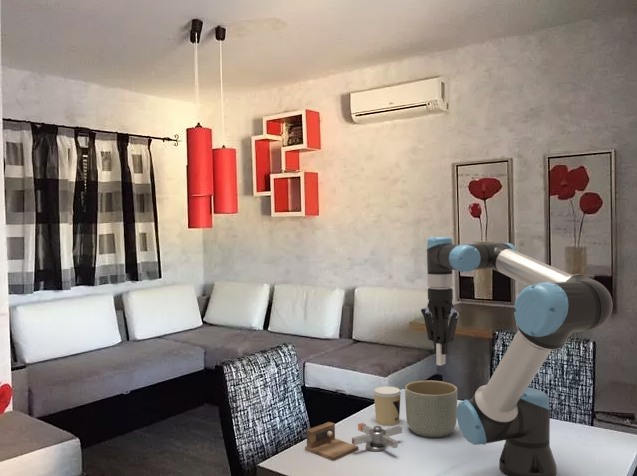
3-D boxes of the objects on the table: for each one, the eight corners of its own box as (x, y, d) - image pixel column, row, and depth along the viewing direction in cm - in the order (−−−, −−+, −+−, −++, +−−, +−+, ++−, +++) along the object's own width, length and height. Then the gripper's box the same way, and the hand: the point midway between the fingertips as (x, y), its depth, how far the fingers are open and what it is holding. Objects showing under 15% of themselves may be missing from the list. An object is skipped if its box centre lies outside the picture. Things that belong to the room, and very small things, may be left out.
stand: (398, 450, 181) (398, 427, 180) (352, 471, 166) (352, 447, 166) (351, 434, 195) (350, 413, 194) (305, 453, 180) (304, 430, 180)
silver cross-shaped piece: (383, 432, 193) (382, 413, 193) (419, 450, 178) (419, 430, 177) (336, 443, 184) (336, 424, 184) (371, 464, 168) (370, 443, 168)
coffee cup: (400, 429, 198) (399, 394, 197) (372, 428, 200) (372, 393, 199) (402, 420, 207) (401, 386, 207) (375, 418, 209) (375, 385, 208)
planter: (403, 441, 188) (402, 393, 187) (408, 422, 204) (407, 379, 204) (457, 445, 184) (457, 396, 183) (458, 426, 200) (457, 381, 200)
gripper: (465, 287, 177) (466, 365, 178) (429, 284, 186) (430, 358, 187) (451, 290, 172) (452, 370, 172) (415, 287, 181) (416, 363, 182)
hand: (441, 364), depth 180 cm, fingers closed
